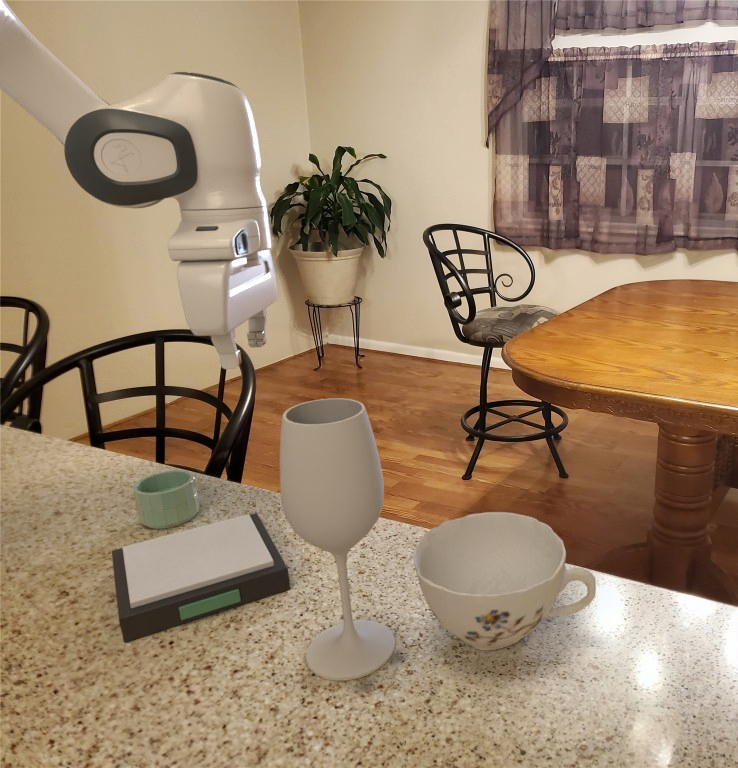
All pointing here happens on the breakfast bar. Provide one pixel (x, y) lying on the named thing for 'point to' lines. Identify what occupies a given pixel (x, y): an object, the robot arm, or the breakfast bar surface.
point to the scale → (195, 574)
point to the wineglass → (335, 517)
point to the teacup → (495, 577)
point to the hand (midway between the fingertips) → (245, 356)
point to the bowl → (166, 499)
